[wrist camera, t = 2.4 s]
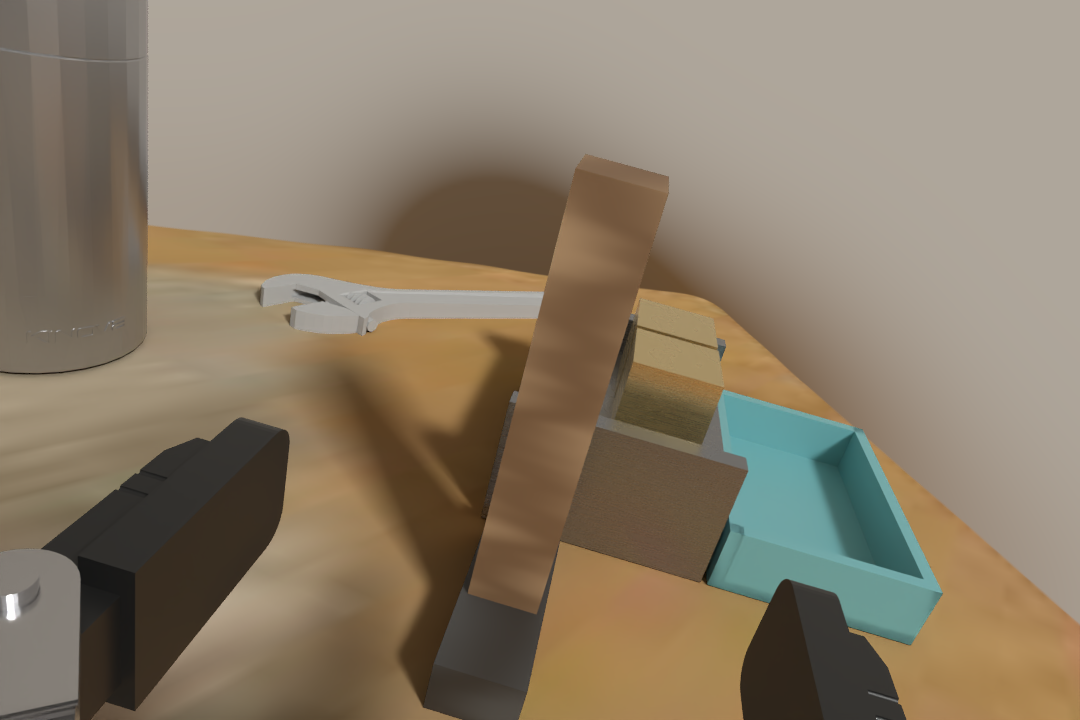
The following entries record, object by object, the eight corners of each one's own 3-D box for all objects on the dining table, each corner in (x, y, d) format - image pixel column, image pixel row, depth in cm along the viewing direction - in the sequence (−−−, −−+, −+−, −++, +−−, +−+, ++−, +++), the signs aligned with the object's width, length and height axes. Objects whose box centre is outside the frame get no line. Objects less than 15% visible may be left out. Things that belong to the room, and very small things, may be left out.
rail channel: (480, 516, 33) (509, 401, 30) (533, 382, 45) (556, 292, 43) (700, 582, 32) (748, 470, 30) (691, 427, 45) (724, 340, 42)
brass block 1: (614, 395, 37) (637, 324, 35) (619, 363, 41) (640, 298, 39) (691, 417, 37) (718, 347, 35) (689, 383, 41) (713, 318, 39)
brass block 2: (608, 439, 33) (633, 361, 31) (614, 399, 37) (636, 327, 35) (694, 464, 33) (724, 387, 31) (691, 421, 37) (718, 350, 35)
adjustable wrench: (585, 309, 60) (590, 289, 59) (624, 347, 55) (631, 326, 54) (259, 293, 48) (261, 268, 47) (272, 340, 43) (275, 312, 42)
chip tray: (707, 584, 32) (730, 531, 31) (696, 429, 45) (712, 386, 43) (910, 645, 32) (942, 593, 30) (841, 470, 44) (862, 429, 43)
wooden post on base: (422, 707, 24) (548, 189, 16) (486, 534, 32) (588, 137, 24) (513, 735, 23) (679, 225, 16) (553, 554, 32) (675, 161, 24)
